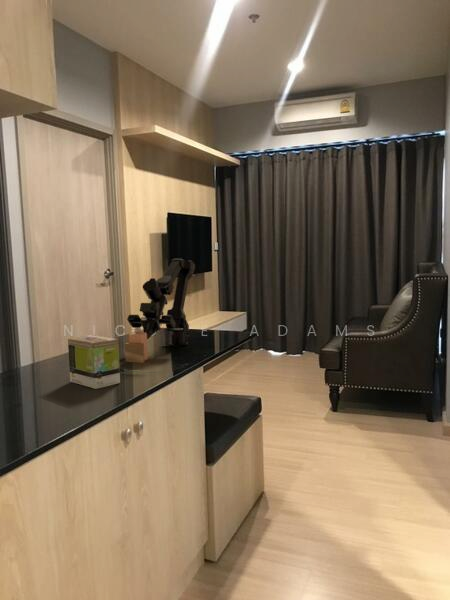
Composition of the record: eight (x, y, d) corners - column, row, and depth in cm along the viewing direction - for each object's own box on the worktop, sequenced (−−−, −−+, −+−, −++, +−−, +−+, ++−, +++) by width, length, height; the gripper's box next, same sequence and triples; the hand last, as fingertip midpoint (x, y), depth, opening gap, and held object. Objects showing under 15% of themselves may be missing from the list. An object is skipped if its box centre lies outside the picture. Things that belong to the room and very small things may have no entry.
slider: (136, 358, 197) (134, 326, 195) (147, 358, 195) (146, 326, 194) (130, 360, 193) (128, 328, 191) (142, 361, 191) (140, 328, 190)
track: (146, 355, 207) (145, 335, 206) (162, 356, 205) (161, 336, 204) (125, 365, 192) (124, 343, 191) (142, 366, 189) (141, 344, 188)
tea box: (121, 383, 167) (119, 338, 165) (94, 390, 160) (92, 343, 158) (95, 376, 177) (93, 333, 176) (69, 382, 170) (66, 337, 168)
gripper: (127, 294, 204) (115, 326, 195) (171, 294, 198) (160, 328, 189) (138, 311, 213) (126, 343, 204) (180, 311, 207) (170, 344, 198)
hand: (145, 339), depth 198 cm, fingers closed
